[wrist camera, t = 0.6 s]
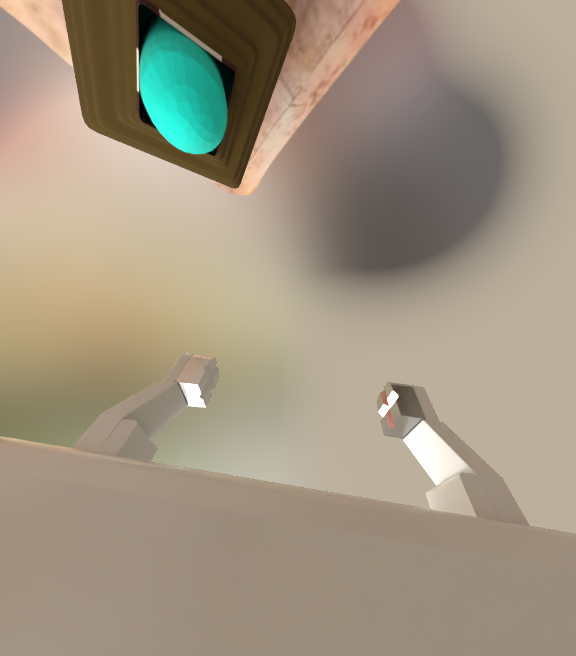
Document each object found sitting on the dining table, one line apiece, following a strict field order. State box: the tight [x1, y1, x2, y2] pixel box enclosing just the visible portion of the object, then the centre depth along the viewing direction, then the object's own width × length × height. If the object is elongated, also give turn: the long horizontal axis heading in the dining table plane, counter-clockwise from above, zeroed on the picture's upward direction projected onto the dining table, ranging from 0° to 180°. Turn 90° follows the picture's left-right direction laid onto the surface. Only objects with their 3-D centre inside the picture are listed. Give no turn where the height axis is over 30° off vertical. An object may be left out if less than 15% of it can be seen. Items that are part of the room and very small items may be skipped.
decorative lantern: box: [62, 0, 296, 188], centre depth 23 cm, size 20×20×30 cm
